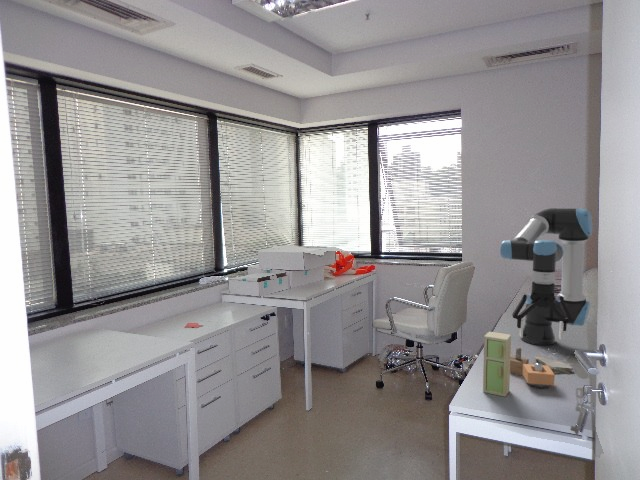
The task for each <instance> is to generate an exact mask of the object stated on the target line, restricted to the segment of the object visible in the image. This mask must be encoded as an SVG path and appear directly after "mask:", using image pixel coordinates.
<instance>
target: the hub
mask: <svg viewBox="0 0 640 480" xmlns="http://www.w3.org/2000/svg"><path fill="white" fill-rule="evenodd" d="M534 365H535V369H534V371H541V372H542V364H541V363H539V362H535V363H534ZM526 384H527V385H528V386H529V387H531V388H536V389H541V390H542V389H548V387H549V385H544V384H532V383H527V382H526Z"/></svg>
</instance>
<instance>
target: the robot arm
mask: <svg viewBox="0 0 640 480" xmlns="http://www.w3.org/2000/svg"><path fill="white" fill-rule="evenodd" d="M593 224H594V222H593V217H592V213H591V212H590V211H589V210H588V209H585V208H584V209H583V208H556V207H555V208H552V207H551V208H546V209H542V210H540V211H538V212H535V213H534V214H533V215H531V216H529V218H528V219H527V220H526V222H525V226H524V227H523V228H522V229H521V231H519V232H518V234H517V235H515V237H514V238H513V239H512V240H510V239H508V240H507V239H505V240H503V241H501V243H500V248H499V252H500V256H501V258H503V259H508V260H512V261H513V260H515V261H527V262H532V279H531V280H532V283H531V293H529V294H526V293H524V292H523V293H522V295H521V299H520V301H519V302H518V303H517V306H516V307H515V309H514V310H513V313H512V314H511V316H512V318H513V319H516V327H517V329H519V337H520V340H521V341H523V342H525V343H528V344H532V345H536V346H552V345H554V344H555V343H556V336H555V333H554V330H553V325H552V324H553V323H559V328H558V340H560V341H564V332H567V325H570V326H578V327H580V326H581V327H582V326H585V324H586V322H587V319H588V317H589V312H590V307H591V303H590V301H589V300H587V297H586V295H585V294H584V293H583V289H584V287H583V283H584V282H583V281H584V259H585V258H584V257H585V255H584V254H585V253H584V252H585V251H584V249H585V243H586V242H587V241H588V240H589V237H591V236H592V235H593V228H594V225H593ZM547 234H548V235H549V234H552V235H558V240H559V241H561V242H562V245H561V244H560V243H558V242H556V241H554V240H551V239H550V240H549V239H540V238H541V236H544V235H547ZM560 260H561V277H560V278H561V279H560V281H561V286H560V289H561V290H560V292H559V293H558V294H557V295H555V282H556V263H557V262H559V261H560ZM524 306H525V308H524V309H523V307H524ZM522 309H523V310H522ZM521 310H522V311H521ZM524 317H525V321H524V319H523V318H524Z"/></svg>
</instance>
